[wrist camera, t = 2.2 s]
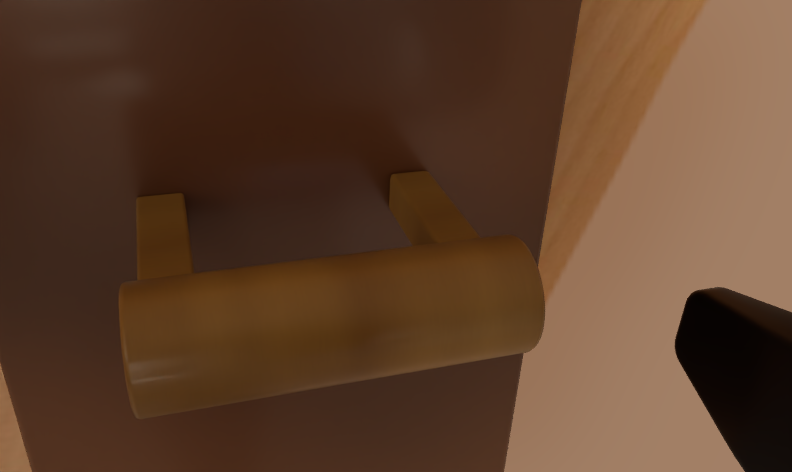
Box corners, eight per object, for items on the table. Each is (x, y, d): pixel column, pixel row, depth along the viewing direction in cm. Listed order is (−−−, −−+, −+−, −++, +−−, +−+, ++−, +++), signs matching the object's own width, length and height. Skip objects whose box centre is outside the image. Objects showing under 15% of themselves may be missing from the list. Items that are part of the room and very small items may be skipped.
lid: (-134, -162, 9) (-357, -125, 5) (579, -140, 11) (823, -104, 7) (69, 560, 16) (48, 827, 12) (488, 469, 18) (589, 660, 14)
